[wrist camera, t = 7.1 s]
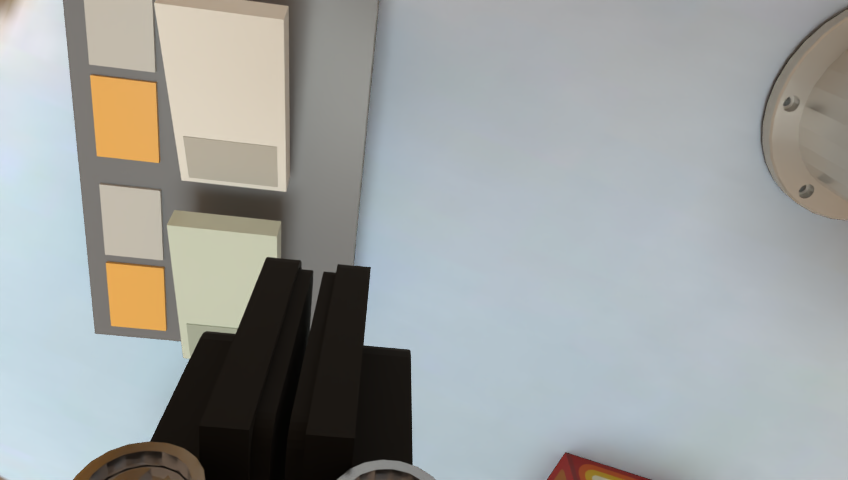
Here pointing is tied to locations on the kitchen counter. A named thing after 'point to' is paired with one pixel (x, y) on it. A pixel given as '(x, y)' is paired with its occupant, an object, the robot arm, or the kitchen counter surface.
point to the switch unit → (165, 191)
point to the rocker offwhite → (228, 90)
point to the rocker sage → (216, 269)
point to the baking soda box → (588, 470)
